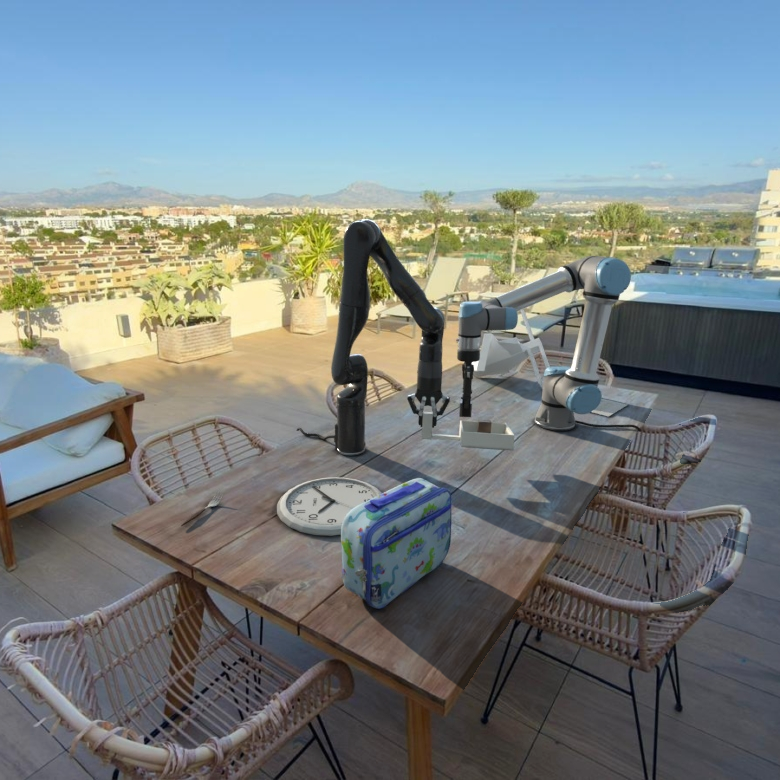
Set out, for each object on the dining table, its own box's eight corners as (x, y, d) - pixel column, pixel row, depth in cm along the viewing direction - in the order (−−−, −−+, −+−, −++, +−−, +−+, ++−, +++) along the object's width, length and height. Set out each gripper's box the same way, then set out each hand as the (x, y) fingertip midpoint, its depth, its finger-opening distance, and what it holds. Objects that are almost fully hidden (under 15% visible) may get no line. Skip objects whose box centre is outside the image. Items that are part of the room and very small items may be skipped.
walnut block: (489, 435, 170) (490, 420, 170) (490, 437, 167) (491, 422, 166) (477, 434, 171) (478, 419, 170) (477, 437, 167) (478, 421, 166)
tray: (505, 436, 173) (507, 412, 172) (513, 450, 152) (515, 423, 151) (423, 431, 175) (424, 408, 175) (420, 444, 154) (421, 417, 154)
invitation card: (608, 416, 214) (573, 407, 224) (608, 416, 214) (573, 407, 224) (627, 404, 229) (594, 396, 238) (627, 405, 229) (594, 397, 239)
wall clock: (392, 527, 129) (269, 531, 127) (392, 533, 130) (269, 537, 127) (383, 473, 158) (282, 475, 155) (383, 478, 158) (283, 480, 156)
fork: (176, 526, 131) (176, 519, 130) (217, 497, 145) (217, 491, 145) (185, 528, 130) (184, 521, 130) (225, 499, 145) (224, 492, 144)
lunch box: (370, 622, 101) (370, 527, 94) (335, 595, 108) (333, 505, 102) (455, 565, 118) (460, 481, 112) (420, 544, 125) (423, 465, 119)
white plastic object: (489, 418, 267) (470, 395, 242) (471, 346, 289) (451, 318, 264) (561, 394, 254) (547, 368, 230) (535, 321, 277) (521, 289, 252)
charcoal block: (470, 413, 184) (471, 399, 182) (471, 417, 180) (471, 403, 179) (459, 412, 184) (460, 399, 183) (459, 416, 181) (460, 403, 179)
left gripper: (452, 371, 162) (449, 423, 168) (407, 369, 164) (406, 421, 169) (452, 378, 155) (449, 432, 161) (405, 376, 157) (404, 429, 162)
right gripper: (457, 342, 184) (454, 405, 191) (457, 354, 167) (454, 422, 175) (479, 343, 183) (475, 406, 190) (481, 354, 167) (477, 423, 174)
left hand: (427, 426), depth 165 cm, fingers closed on tray, 3 cm apart
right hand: (465, 414), depth 182 cm, fingers closed on charcoal block, 4 cm apart
